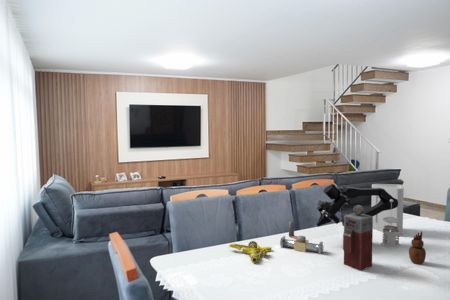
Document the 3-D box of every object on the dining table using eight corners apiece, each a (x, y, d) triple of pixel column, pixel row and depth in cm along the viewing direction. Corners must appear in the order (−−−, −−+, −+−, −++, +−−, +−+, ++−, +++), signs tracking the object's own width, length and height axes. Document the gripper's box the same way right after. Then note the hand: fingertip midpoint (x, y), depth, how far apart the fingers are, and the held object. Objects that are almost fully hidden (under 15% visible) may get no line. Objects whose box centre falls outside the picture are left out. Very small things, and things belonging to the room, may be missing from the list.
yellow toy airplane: (275, 263, 156) (271, 247, 176) (274, 250, 156) (270, 235, 175) (228, 267, 157) (229, 251, 177) (227, 254, 157) (228, 239, 177)
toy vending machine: (340, 265, 153) (340, 205, 152) (355, 260, 160) (356, 202, 158) (357, 272, 146) (358, 209, 144) (372, 266, 152) (373, 205, 150)
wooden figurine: (423, 261, 157) (424, 230, 156) (426, 266, 152) (427, 233, 151) (407, 259, 159) (408, 228, 159) (410, 264, 154) (410, 232, 153)
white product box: (414, 233, 200) (415, 187, 199) (397, 236, 194) (398, 189, 192) (386, 225, 217) (387, 182, 216) (370, 228, 211) (371, 184, 210)
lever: (307, 240, 174) (307, 224, 173) (301, 242, 171) (301, 226, 171) (292, 235, 182) (292, 220, 182) (286, 237, 180) (286, 221, 179)
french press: (381, 246, 177) (382, 200, 176) (379, 240, 188) (380, 196, 187) (401, 249, 174) (402, 201, 172) (399, 242, 184) (400, 197, 183)
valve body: (323, 250, 172) (323, 241, 172) (321, 254, 167) (321, 245, 166) (283, 244, 183) (283, 235, 182) (279, 247, 177) (279, 238, 177)
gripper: (319, 192, 190) (301, 211, 190) (333, 198, 172) (313, 220, 171) (333, 205, 192) (314, 224, 191) (348, 212, 173) (328, 234, 173)
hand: (317, 225), depth 182 cm, fingers closed
